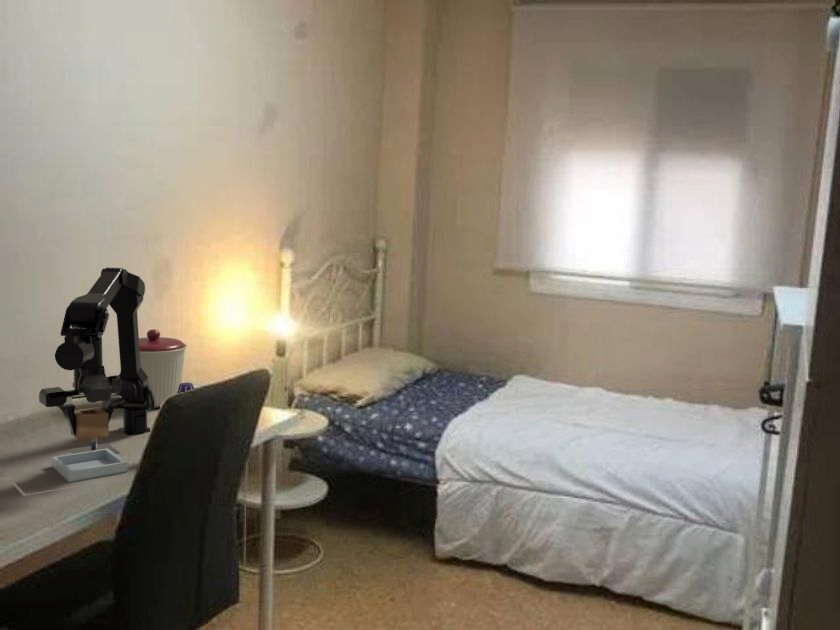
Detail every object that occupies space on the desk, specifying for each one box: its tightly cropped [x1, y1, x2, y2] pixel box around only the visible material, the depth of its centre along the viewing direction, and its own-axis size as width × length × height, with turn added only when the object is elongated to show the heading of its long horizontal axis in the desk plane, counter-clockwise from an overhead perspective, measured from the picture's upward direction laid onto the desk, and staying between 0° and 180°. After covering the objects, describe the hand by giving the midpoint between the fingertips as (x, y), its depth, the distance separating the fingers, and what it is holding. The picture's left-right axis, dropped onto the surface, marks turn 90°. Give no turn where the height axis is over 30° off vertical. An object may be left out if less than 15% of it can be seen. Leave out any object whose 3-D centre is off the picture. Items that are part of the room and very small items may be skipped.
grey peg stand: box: [67, 438, 121, 455], centre depth 202 cm, size 9×9×6 cm
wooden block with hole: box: [70, 406, 110, 441], centre depth 189 cm, size 8×6×5 cm
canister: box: [139, 329, 188, 409], centre depth 247 cm, size 18×18×21 cm
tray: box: [51, 448, 128, 483], centre depth 190 cm, size 12×12×2 cm
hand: (89, 432), depth 189 cm, fingers closed on wooden block with hole, 6 cm apart
